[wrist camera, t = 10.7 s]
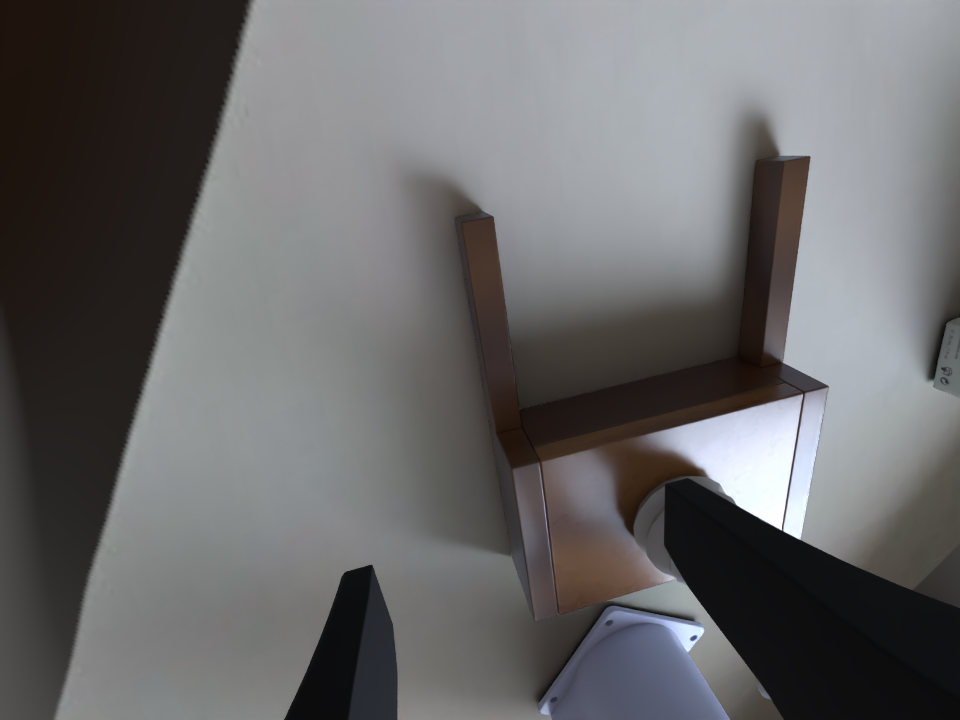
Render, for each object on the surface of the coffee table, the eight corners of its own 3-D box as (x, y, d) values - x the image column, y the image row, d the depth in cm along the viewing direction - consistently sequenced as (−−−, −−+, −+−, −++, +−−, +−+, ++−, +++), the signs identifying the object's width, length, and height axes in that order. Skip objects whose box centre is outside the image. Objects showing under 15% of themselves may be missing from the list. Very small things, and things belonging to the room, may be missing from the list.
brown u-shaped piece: (454, 217, 18) (474, 232, 14) (781, 155, 20) (872, 156, 16) (511, 557, 26) (534, 623, 22) (744, 491, 27) (800, 542, 24)
